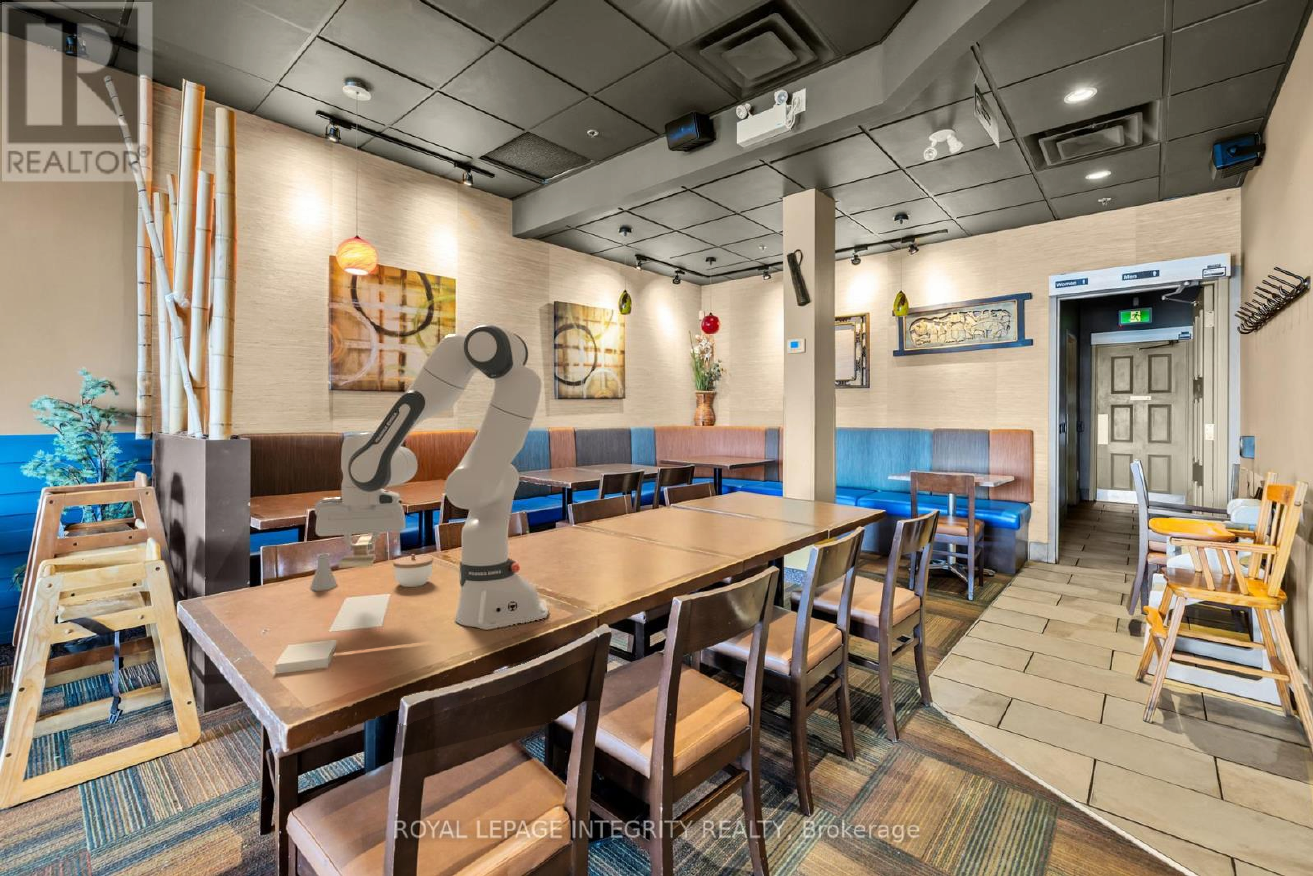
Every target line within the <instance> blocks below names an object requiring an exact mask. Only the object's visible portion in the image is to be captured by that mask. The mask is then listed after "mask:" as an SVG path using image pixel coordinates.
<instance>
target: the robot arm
mask: <svg viewBox="0 0 1313 876" xmlns="http://www.w3.org/2000/svg"><path fill="white" fill-rule="evenodd" d="M528 359H529V349H528V347H527V344H526V342H525V341H524V339H522V337H520V335H518V334H515V333H514V332H512V331H510V330H508V329H506V328H503V327H500V326H495V325H492V324H483V325H479V326H477V327H474V328H473V329H471V330H470V331H469V332H468V334H467V335H466V336H465V335H462V334H457V333H452V334H448V335H445V337H443V338H442V339H441V340H440V341H439V343H438V344H436V346H435V348H434V349H433V350H432V352H431V353H430V354H429V355H428V357H427V358H426V360H425V362H424V363H423V365H422V366H421V369H420V370H419V372H418V373H417V375H416V377H415V378H414V379H413V381H412V383H411V384H410V385H409V387H408V388H407V389H406V391H404V393H403V394H402V395H401V396H400V397H399V398H398V399H397V401H396V402H395V403H394V405H393V407H391V409H390V410H389V412H388V413H387V414H386V416H384V418H383V420H382V422H381V423H380V424H379V426H378V427H377V429H376V431H375V432H362V433H354V434H351V435H348V436H347V437H345V438H344V439H343V442H342V447H341V455H340V456H341V458H340V459H341V460H340V461H341V463H340V469H341V472H342V476H343V477H342V482H341V497H329V498H328V497H323V498H321V499H320V500H317V501H316V502H315V504H314V514H315V515H316V519H315V520H316V521H315V530H314V531H315V534H316V536H319V537H331V536H332V537H333V536H343V540H344V542H345V543H346V544H347V545H348V552H349V553H354V546H355V544H356V543H353V542H352V540H351V538H352V535H364V534H365V535H367V534H368V535H369V534H372V535H373V542H372V543H368V551H370V552H372V551H375V549H376V542H377V541H378V539H379V538H380V534H381V533H382V534H383V533H398V532H400V533H401V532H403V530H404V529H406V517H405V510H404V507H403V504H402V503H400V497H401V495H400V494H399V493H398V492H395V491H393V490H387V489H384V488H387V487H393V486H397V485H399V484H400V485H401V484H404V483H407V482H409V481H411V480H412V479H413V478H414V477H415V476H416V474H417V472H418V468H419V467H418V466H419V464H418V463H419V462H418V458H417V456H416V454H415V453H414V451H412V450H411V449H410V448H408V447H405V446H402V445H403V444H404V442H405V440H407V438H408V436H409V434H410V433H411V431H413V430H414V428H415V427H417V426H418V425H419V424H421V422H423V421H425V420H427V419H429V418H431V417H434V416H436V415H438V414H442V413H445V412H447V411H448V410H450V409H451V408H452V407H453V406H455V404H456V403H457V402H458V400H459V399H460V398H461V396H462V394H463V393H464V391H465V389H466V387H467V386H468V384H469V383H470V381H471V379H472V377H473V376H474V375H476V373H477V372H478V371H480V372H481V373H483V374H484V376H486V377H487V378H489V379H492V380H493V381H494V388H493V393H492V396H491V398H490V400H489V403H488V406H487V409H486V411H485V413H484V417H483V419H482V422H481V425H480V427H479V430H478V432H477V434H476V435H475V437H474V439H473V441H472V443H471V444H470V445H469V447H468V449H467V451H466V452H465V454H464V456H463V457H462V459H461V460H460V462H459V463H458V465H457V466H456V467H455V469H454V470H453V471H452V472H451V473H450V474H449V475H448V476H447V478H446V480H445V484H444V491H445V492H444V493H445V495H446V497H447V499H448V501H449V502H450V504H452V505H454V506H455V507H457V508H459V509H465V510H468V514H467V518H466V519H465V520H466V521H465V523H464V525H463V526H462V529H461V561H460V562H459V571H458V572H459V573H458V574H459V585H460V591H459V594H460V595H459V599H458V600H459V601H458V605H457V610H456V615H455V618H454V620H455V622H456V623H457V624H459V625H462V626H466V627H475V628H478V629H481V630H493V629H499V628H504V627H509V625H510V626H514V625H513V624H515V625H518V624H517V623H521V624H525V622H526V623H531V622H536V621H535V620H537V621H540V620H539V619H542V618H545V619H546V618H547V617H548V616H549V609H548V605H547V604H546V603H545V602H543V601H542V600H540V596H539V593H538V590H537V587H535V585H534V584H533V583H532V582H531V581H529V580H527V579H526V578H524V577H523V576H521V575H520V574H518V572H519V571H520V569H521V567H520V565H519V563H517V562H516V561H515V560H514V559H513V558H510V557H509V523H510V519H511V513H512V509H513V503H514V497H515V493H516V490H517V489H518V487H519V483H520V475H519V471H518V469H517V468H516V467H515V466H514V465H513V464H512V462H513V461H514V459H515V458H516V456H517V454H519V452H520V451H521V450H522V448H523V447H524V445H525V442H526V438H527V436H528V433H529V432H530V431H529V430H530V428H531V426H532V423H533V421H534V417H535V414H536V411H537V408H538V404H539V401H540V395H541V392H542V391H541V390H542V379H541V378H540V375H538V374H537V373H536V372H535V371H534V370H532V369H531V368H529V367H527V366H526V364H527V362H528ZM547 615H548V616H547ZM542 620H543V619H542ZM530 621H531V622H530ZM498 627H499V628H498Z"/></svg>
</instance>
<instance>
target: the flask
mask: <svg viewBox="0 0 1313 876" xmlns="http://www.w3.org/2000/svg"><path fill="white" fill-rule="evenodd" d="M330 556H331V554H330V553H319V554H317V555H316V557H317V567H316V570H315V572H314V576H313V578H312V581H311V583H310V585H309V590H310V591H316V592H321V591H327V590H328V591H329V590H332V589H334V588H338V587H339V585H338V583H337V581H336V579H335V576H334V574H333V571H332V569H331V565H330V558H329V557H330Z"/></svg>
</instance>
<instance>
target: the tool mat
mask: <svg viewBox="0 0 1313 876" xmlns="http://www.w3.org/2000/svg"><path fill="white" fill-rule="evenodd" d="M390 597H391V593H384V594H382V593H381V594H372V595H363V596H362V595H361V596H351V597H350V596H349V597H345V598H344V602H343V603H342V605H341V607H340V609H339V611H338V613H337V614H336V616H335V619H334V620H333V622H332V624H331V626H330V628H329V630H328V633H331V632H332V633H333V632H340V631H350V630H358V629H367V628H370V629H371V628H379V627H383V626H382V625H383V622H384V618H385V616H386V613H387V609H388V606H389V601H390Z"/></svg>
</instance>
